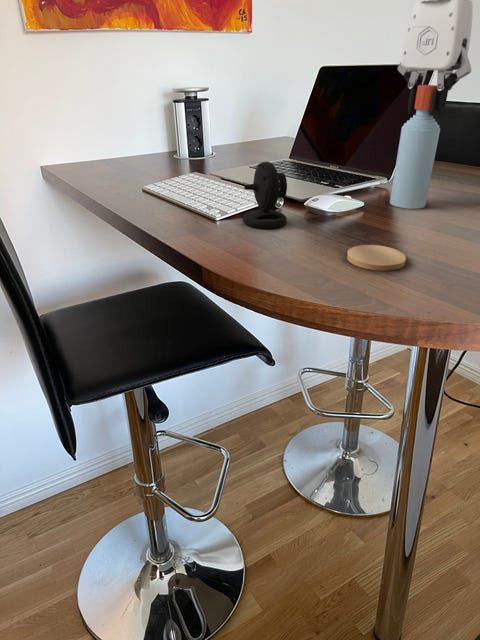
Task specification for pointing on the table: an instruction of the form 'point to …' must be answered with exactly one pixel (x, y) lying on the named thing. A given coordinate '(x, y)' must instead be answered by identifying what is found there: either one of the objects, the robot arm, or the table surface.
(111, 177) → the table surface
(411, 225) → the table surface
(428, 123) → the bottle
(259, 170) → the webcam
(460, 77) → the robot arm
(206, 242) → the table surface
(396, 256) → the coaster
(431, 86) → the cap
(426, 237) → the table surface
